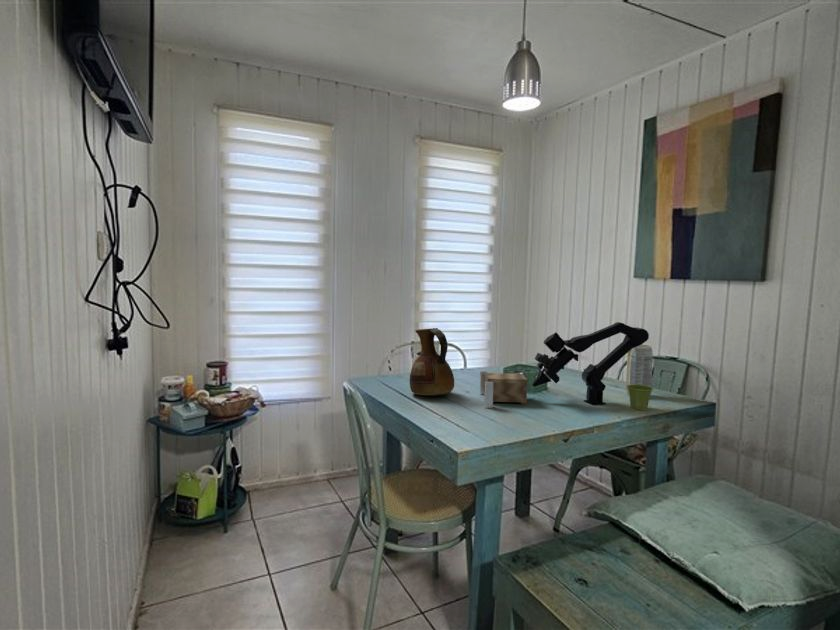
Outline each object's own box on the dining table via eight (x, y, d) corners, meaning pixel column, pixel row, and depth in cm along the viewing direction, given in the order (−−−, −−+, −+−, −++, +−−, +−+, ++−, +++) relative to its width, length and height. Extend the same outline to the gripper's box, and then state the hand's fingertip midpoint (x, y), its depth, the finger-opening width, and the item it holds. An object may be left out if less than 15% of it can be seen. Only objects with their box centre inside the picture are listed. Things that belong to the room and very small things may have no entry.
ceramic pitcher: (427, 387, 219) (428, 324, 217) (463, 394, 207) (464, 327, 204) (399, 395, 204) (400, 327, 202) (436, 403, 191) (437, 330, 189)
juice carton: (645, 394, 212) (647, 341, 210) (652, 398, 204) (654, 344, 202) (624, 393, 213) (626, 341, 211) (630, 397, 205) (632, 343, 203)
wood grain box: (521, 397, 203) (522, 373, 202) (526, 404, 191) (527, 379, 190) (484, 396, 203) (484, 372, 203) (487, 403, 191) (487, 378, 191)
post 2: (491, 406, 188) (492, 381, 187) (492, 408, 185) (493, 383, 184) (484, 406, 188) (485, 381, 187) (485, 408, 185) (485, 383, 184)
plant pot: (657, 410, 185) (658, 388, 184) (639, 412, 182) (640, 390, 181) (638, 404, 194) (639, 383, 193) (621, 406, 190) (622, 385, 190)
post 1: (486, 393, 210) (487, 371, 209) (487, 394, 207) (487, 372, 206) (479, 393, 210) (480, 371, 209) (480, 394, 207) (480, 372, 206)
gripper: (542, 343, 204) (516, 368, 205) (552, 349, 185) (523, 376, 187) (559, 361, 204) (533, 386, 205) (571, 369, 186) (542, 396, 187)
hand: (532, 385), depth 196 cm, fingers closed
